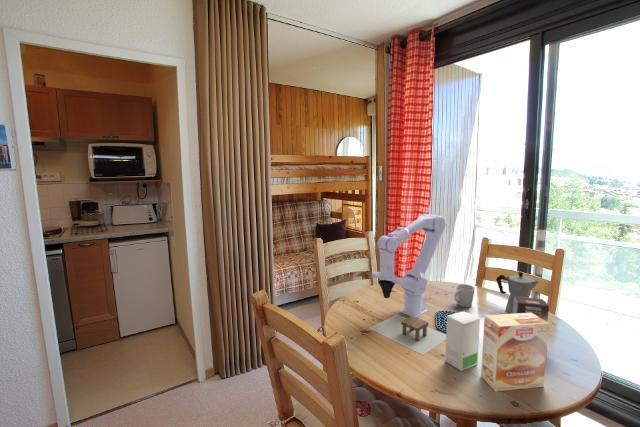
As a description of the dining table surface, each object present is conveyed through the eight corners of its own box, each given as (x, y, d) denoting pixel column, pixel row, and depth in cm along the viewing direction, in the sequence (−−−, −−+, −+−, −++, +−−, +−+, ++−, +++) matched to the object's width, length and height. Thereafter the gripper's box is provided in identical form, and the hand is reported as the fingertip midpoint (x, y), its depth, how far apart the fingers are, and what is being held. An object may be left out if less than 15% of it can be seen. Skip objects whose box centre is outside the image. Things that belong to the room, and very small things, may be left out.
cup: (477, 306, 141) (478, 288, 140) (461, 310, 137) (462, 292, 136) (463, 300, 148) (464, 283, 147) (448, 304, 144) (448, 286, 143)
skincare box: (461, 372, 96) (463, 324, 94) (443, 360, 102) (445, 315, 100) (478, 364, 100) (481, 317, 98) (461, 353, 106) (463, 309, 103)
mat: (396, 314, 134) (396, 314, 134) (450, 337, 116) (450, 336, 116) (368, 328, 123) (368, 328, 123) (423, 355, 105) (423, 355, 105)
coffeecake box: (495, 392, 87) (499, 326, 84) (479, 375, 94) (483, 314, 91) (545, 387, 88) (550, 322, 86) (526, 371, 95) (530, 311, 93)
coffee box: (514, 346, 109) (517, 302, 107) (510, 337, 115) (512, 295, 113) (545, 350, 106) (549, 305, 104) (539, 341, 112) (542, 298, 110)
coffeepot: (535, 311, 135) (538, 271, 133) (537, 320, 127) (540, 278, 125) (495, 304, 143) (497, 266, 140) (494, 312, 135) (496, 272, 133)
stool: (401, 321, 117) (417, 328, 112) (412, 315, 122) (428, 322, 116) (401, 334, 118) (417, 342, 112) (411, 328, 122) (428, 335, 117)
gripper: (367, 263, 130) (367, 294, 132) (395, 271, 119) (395, 305, 120) (378, 260, 134) (377, 290, 136) (406, 267, 123) (406, 300, 125)
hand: (386, 297), depth 129 cm, fingers closed
